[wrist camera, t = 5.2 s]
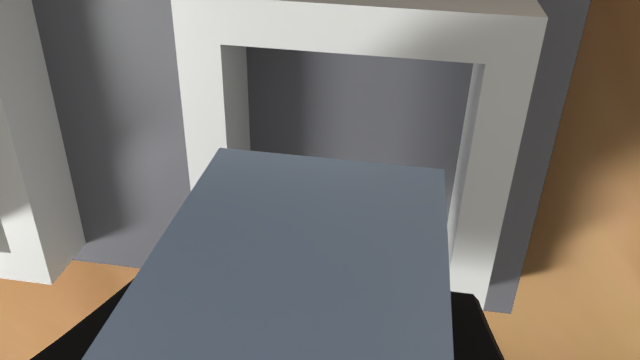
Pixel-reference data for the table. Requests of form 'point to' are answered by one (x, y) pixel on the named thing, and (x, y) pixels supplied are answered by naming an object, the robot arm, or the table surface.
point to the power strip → (274, 114)
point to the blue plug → (294, 266)
